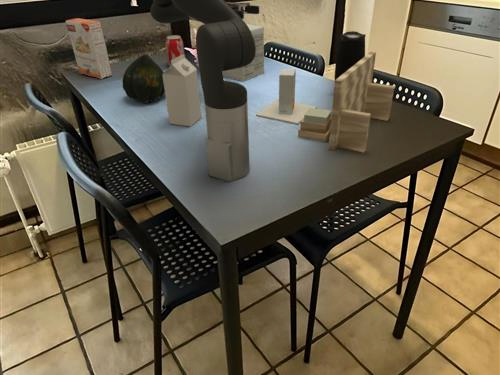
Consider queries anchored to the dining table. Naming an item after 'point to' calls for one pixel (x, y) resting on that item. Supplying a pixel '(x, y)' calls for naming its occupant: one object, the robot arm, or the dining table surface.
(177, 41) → the soda can
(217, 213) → the dining table surface
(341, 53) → the portable speaker
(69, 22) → the cracker box
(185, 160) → the dining table surface
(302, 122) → the oak offcut
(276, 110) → the beige mat
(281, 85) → the skincare box
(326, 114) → the sage offcut
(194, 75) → the milk carton
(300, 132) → the pine offcut
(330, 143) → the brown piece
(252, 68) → the supplement box
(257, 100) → the dining table surface
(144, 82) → the squash
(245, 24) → the robot arm
